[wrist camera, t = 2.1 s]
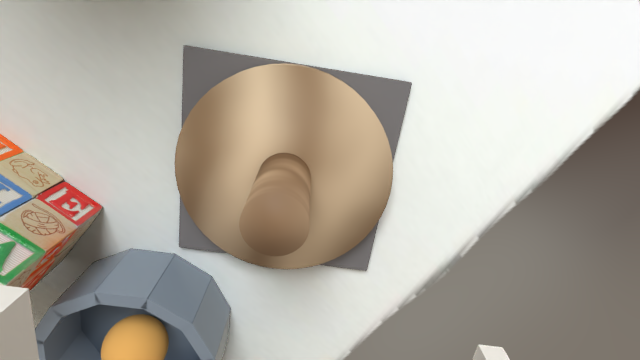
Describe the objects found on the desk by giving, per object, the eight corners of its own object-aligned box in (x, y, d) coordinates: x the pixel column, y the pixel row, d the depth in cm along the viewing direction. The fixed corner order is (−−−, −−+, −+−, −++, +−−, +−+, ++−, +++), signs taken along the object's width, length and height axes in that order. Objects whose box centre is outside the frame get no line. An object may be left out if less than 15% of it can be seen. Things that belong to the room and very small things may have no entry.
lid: (178, 246, 27) (130, 322, 20) (183, 45, 22) (121, 51, 15) (366, 270, 28) (384, 351, 21) (412, 82, 23) (455, 105, 16)
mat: (180, 243, 28) (179, 246, 27) (185, 45, 23) (183, 45, 22) (365, 267, 29) (366, 270, 28) (410, 82, 23) (411, 83, 23)
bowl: (81, 363, 32) (41, 419, 27) (69, 240, 27) (19, 283, 23) (224, 377, 33) (209, 435, 28) (234, 261, 28) (218, 306, 24)
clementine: (120, 342, 30) (89, 392, 26) (118, 298, 28) (85, 343, 24) (176, 348, 30) (154, 398, 26) (177, 305, 28) (154, 351, 24)
